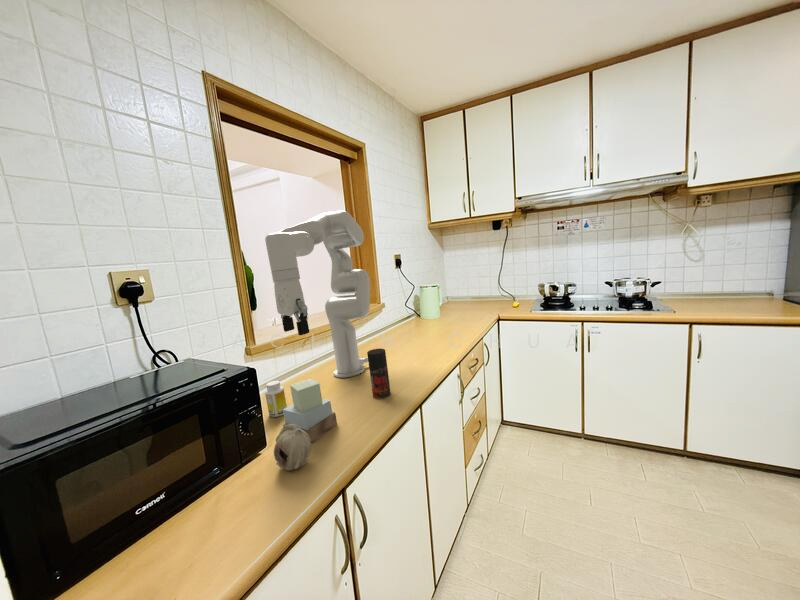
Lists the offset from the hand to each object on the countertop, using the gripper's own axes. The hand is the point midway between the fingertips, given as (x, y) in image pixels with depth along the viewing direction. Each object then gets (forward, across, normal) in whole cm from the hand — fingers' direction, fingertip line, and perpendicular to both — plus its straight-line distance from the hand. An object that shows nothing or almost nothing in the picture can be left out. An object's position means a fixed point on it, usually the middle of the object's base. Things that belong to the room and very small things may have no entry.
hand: (296, 332), depth 98 cm
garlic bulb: (+25, +22, -16) cm, 37 cm away
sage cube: (+18, +11, -5) cm, 22 cm away
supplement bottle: (+26, -8, -7) cm, 28 cm away
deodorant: (+26, +10, +20) cm, 35 cm away
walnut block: (+26, +11, -6) cm, 29 cm away
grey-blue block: (+22, +11, -6) cm, 25 cm away
